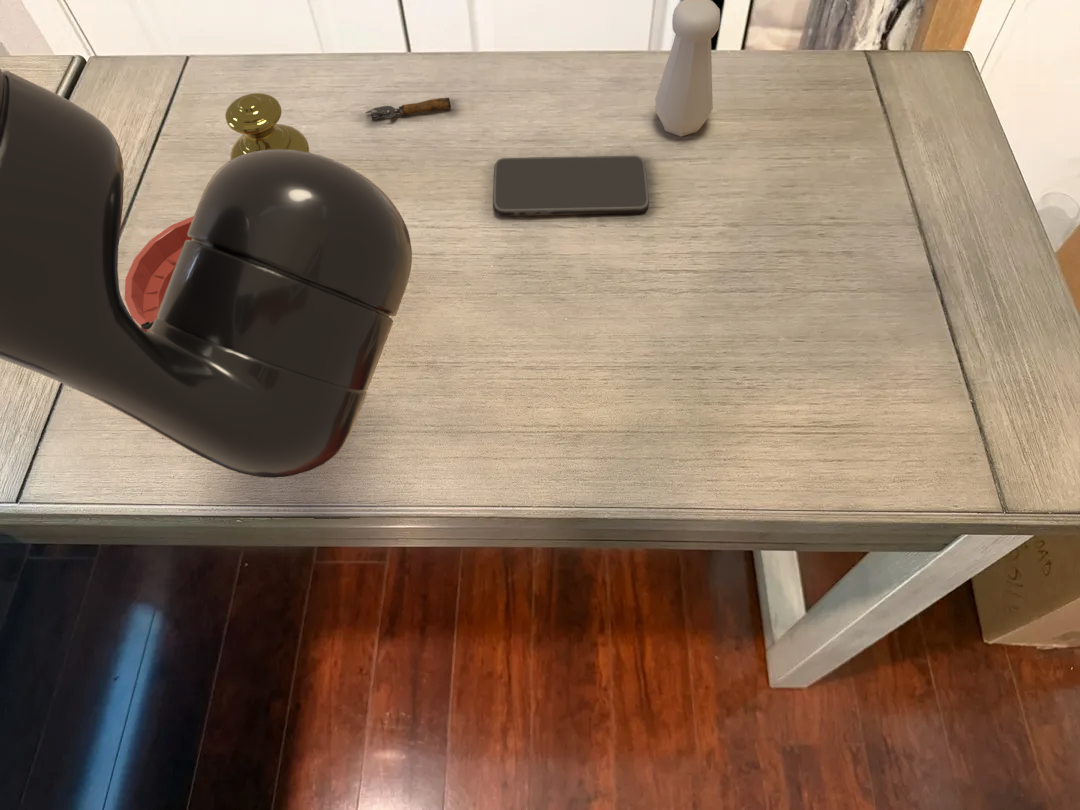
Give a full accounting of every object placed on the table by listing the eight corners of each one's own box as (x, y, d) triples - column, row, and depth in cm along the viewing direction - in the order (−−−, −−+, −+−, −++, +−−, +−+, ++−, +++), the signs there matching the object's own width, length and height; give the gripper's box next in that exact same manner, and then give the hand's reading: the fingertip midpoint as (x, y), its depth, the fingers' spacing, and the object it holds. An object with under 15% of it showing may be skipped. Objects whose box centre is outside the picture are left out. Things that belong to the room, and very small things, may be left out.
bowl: (252, 396, 69) (231, 363, 65) (118, 343, 72) (89, 309, 68) (337, 274, 75) (323, 237, 71) (211, 230, 79) (190, 193, 74)
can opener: (451, 103, 86) (449, 94, 85) (451, 118, 85) (450, 109, 84) (366, 110, 86) (363, 101, 85) (365, 125, 85) (363, 116, 84)
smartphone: (650, 209, 77) (492, 211, 77) (649, 215, 78) (493, 218, 78) (644, 153, 81) (493, 156, 81) (643, 160, 82) (494, 163, 82)
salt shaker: (719, 133, 83) (742, 17, 72) (668, 148, 82) (684, 33, 71) (692, 97, 86) (711, -20, 75) (643, 112, 85) (655, -4, 74)
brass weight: (306, 215, 79) (274, 134, 71) (234, 207, 80) (194, 126, 71) (329, 161, 83) (301, 78, 74) (259, 154, 84) (224, 71, 75)
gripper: (344, 175, 43) (309, 201, 59) (82, 298, 39) (120, 291, 55) (410, 302, 45) (359, 295, 61) (168, 430, 42) (181, 387, 57)
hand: (246, 293), depth 58 cm, fingers closed on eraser, 3 cm apart
